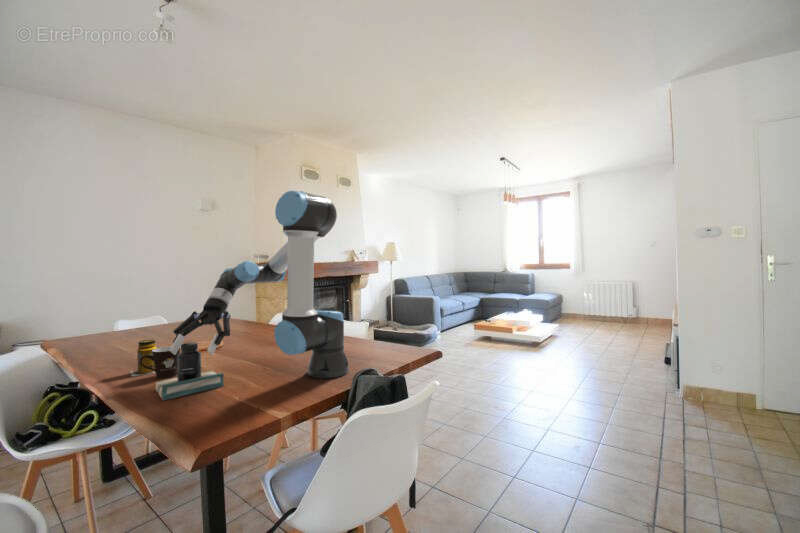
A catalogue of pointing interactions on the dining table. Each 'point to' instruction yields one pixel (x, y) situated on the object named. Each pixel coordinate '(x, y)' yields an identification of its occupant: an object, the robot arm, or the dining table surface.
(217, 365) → the dining table surface
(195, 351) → the supplement bottle
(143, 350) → the condiment
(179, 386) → the teal and cream book
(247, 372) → the dining table surface
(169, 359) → the coffee mug
